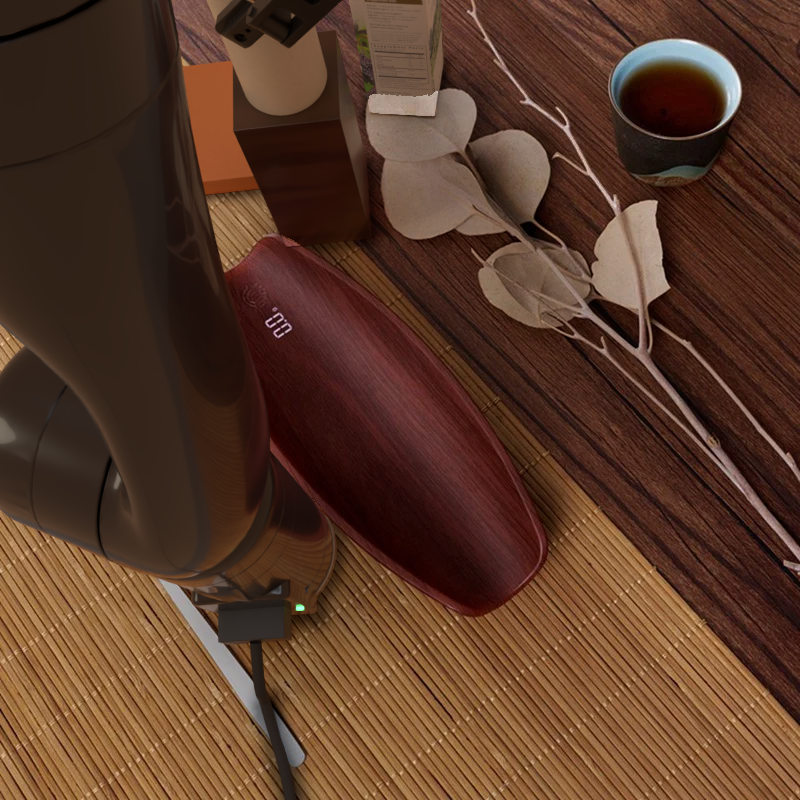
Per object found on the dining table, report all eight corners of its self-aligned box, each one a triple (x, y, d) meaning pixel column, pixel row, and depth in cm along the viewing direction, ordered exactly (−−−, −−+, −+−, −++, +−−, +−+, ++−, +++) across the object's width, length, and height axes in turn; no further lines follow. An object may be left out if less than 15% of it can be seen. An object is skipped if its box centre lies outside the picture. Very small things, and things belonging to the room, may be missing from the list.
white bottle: (328, 110, 59) (289, -31, 48) (243, 120, 60) (184, -17, 48) (325, 39, 61) (287, -113, 50) (242, 49, 61) (185, -100, 50)
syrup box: (379, 59, 79) (355, -77, 66) (447, 62, 79) (437, -74, 65) (369, 115, 78) (342, -12, 64) (438, 119, 77) (426, -8, 63)
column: (371, 239, 74) (340, 118, 59) (285, 247, 75) (232, 131, 59) (367, 163, 76) (335, 29, 61) (283, 172, 77) (232, 42, 62)
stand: (275, 187, 76) (270, 174, 75) (139, 202, 77) (130, 189, 75) (273, 71, 80) (267, 55, 78) (143, 86, 81) (134, 71, 79)
